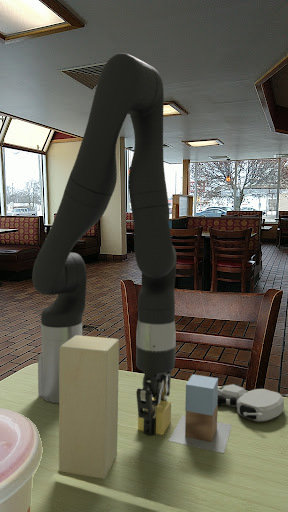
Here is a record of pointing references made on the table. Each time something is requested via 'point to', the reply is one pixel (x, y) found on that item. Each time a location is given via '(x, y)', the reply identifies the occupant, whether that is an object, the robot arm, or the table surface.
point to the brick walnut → (201, 425)
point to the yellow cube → (159, 417)
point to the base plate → (215, 445)
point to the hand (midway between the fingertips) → (154, 427)
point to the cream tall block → (88, 405)
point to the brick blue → (201, 394)
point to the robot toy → (252, 402)
